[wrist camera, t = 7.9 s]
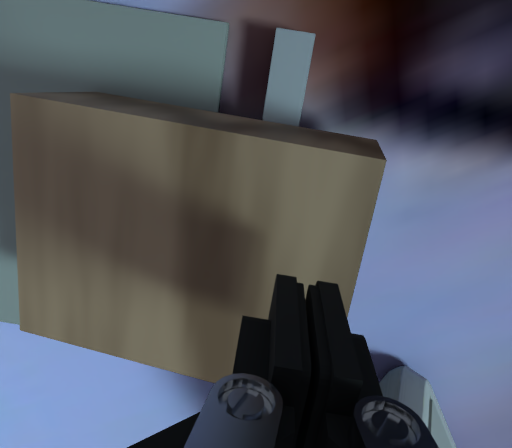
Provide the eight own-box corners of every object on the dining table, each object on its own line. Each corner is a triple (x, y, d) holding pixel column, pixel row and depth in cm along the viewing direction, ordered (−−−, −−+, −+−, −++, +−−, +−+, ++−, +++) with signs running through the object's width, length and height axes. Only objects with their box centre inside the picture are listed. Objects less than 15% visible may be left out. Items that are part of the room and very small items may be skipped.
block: (386, 160, 12) (2, 91, 14) (323, 412, 15) (13, 328, 17) (376, 139, 17) (89, 90, 19) (329, 335, 20) (86, 276, 22)
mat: (229, 24, 18) (228, 22, 17) (190, 348, 23) (189, 352, 23) (-57, -22, 18) (-64, -24, 17) (-30, 311, 23) (-35, 315, 23)
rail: (313, 37, 18) (315, 33, 16) (255, 359, 23) (253, 377, 22) (277, 31, 18) (276, 27, 16) (227, 354, 23) (223, 372, 22)
